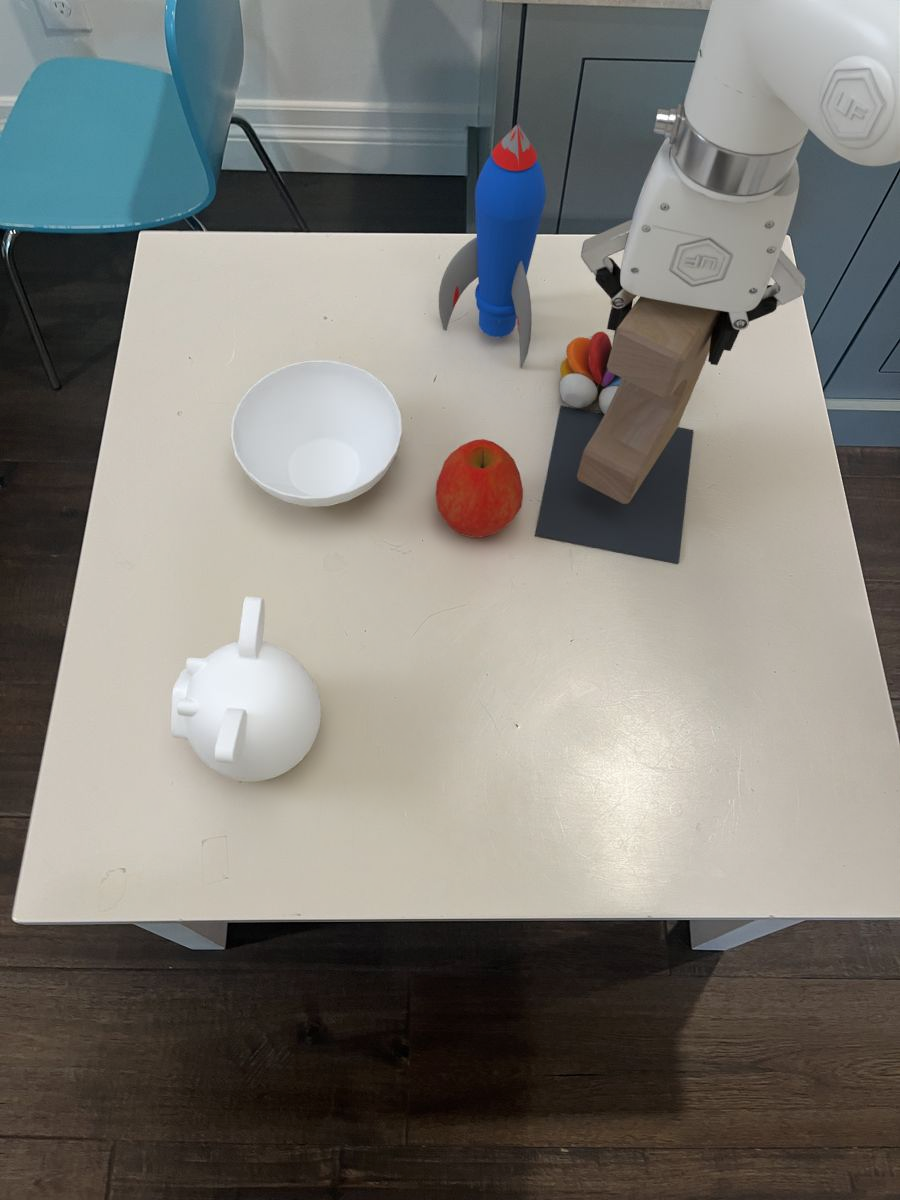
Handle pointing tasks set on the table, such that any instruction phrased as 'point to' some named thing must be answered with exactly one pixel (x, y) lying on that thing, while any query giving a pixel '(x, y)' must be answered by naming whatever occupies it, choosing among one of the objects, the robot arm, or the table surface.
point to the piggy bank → (247, 704)
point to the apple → (479, 489)
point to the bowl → (317, 432)
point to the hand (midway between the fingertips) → (666, 341)
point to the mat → (603, 520)
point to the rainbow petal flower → (588, 372)
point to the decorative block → (646, 392)
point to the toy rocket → (501, 242)
